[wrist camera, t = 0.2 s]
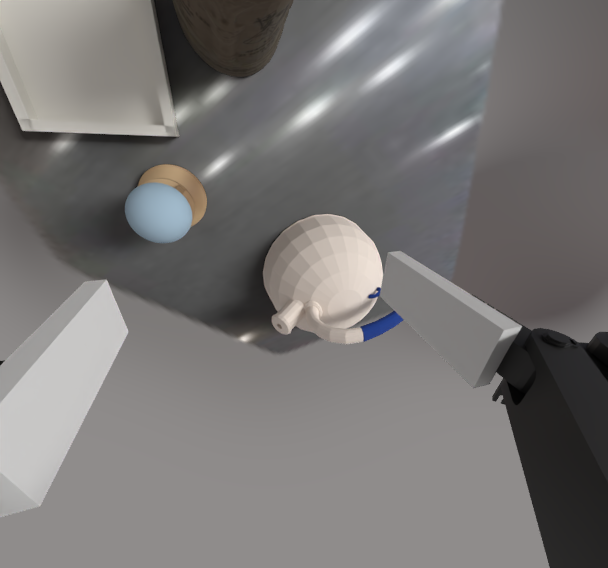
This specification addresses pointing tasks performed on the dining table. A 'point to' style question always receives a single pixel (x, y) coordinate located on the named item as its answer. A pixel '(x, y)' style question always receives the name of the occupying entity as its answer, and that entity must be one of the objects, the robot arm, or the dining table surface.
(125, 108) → the tray
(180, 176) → the stand
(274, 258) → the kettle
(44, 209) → the dining table surface
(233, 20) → the beer stein
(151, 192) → the ball
